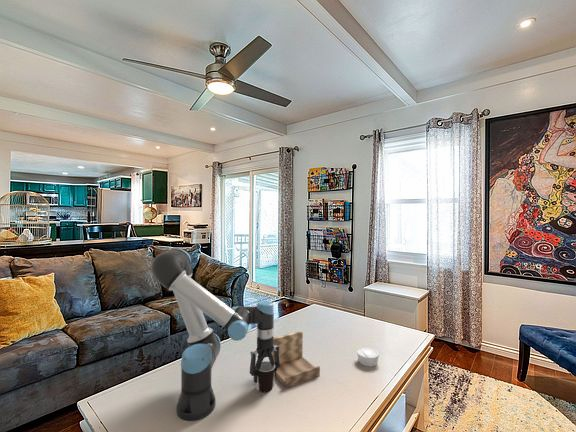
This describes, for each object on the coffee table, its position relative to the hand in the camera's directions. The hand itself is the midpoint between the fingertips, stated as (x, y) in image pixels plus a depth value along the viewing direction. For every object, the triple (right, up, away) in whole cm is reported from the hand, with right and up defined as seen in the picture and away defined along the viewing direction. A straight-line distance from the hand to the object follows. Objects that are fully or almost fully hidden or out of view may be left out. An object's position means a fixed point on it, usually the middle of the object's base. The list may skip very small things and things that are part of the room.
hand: (264, 386), depth 130 cm
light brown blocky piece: (+14, 0, +11) cm, 18 cm away
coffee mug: (+1, 0, 0) cm, 1 cm away
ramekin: (+53, -1, +22) cm, 58 cm away
